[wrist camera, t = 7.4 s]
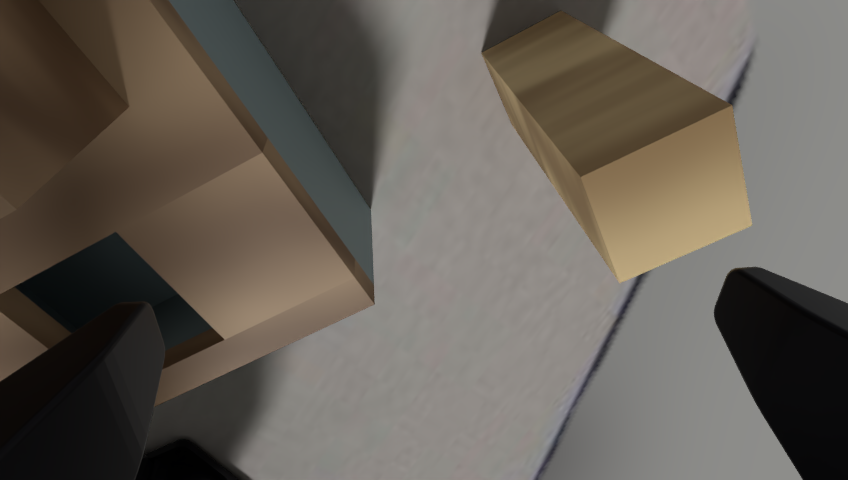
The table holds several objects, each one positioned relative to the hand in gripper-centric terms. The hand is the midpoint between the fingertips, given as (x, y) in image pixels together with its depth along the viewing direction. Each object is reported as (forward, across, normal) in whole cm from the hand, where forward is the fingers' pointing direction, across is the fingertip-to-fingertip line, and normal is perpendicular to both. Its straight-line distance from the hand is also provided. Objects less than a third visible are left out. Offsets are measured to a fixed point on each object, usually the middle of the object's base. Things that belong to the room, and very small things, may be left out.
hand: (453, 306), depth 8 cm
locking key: (+13, -5, 0) cm, 14 cm away
